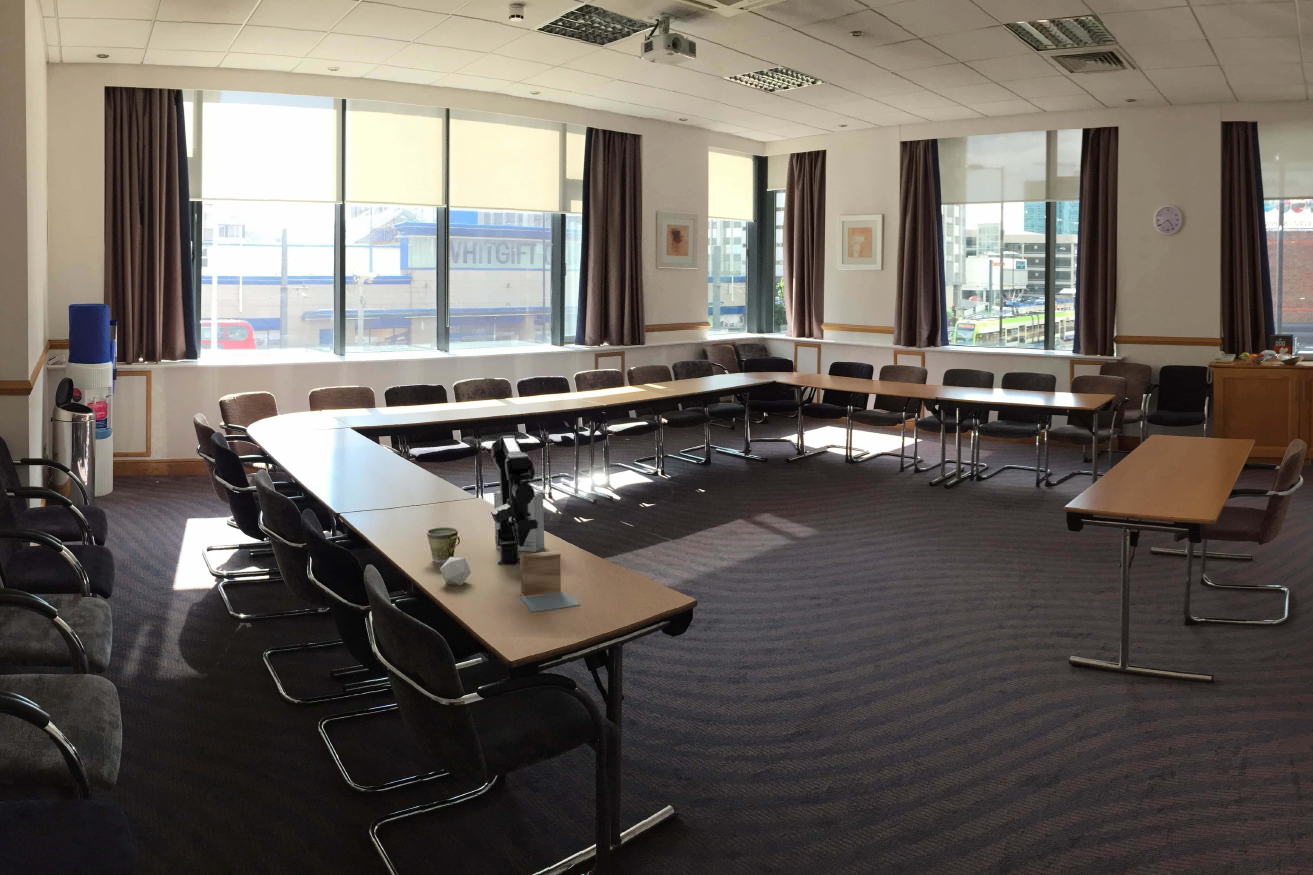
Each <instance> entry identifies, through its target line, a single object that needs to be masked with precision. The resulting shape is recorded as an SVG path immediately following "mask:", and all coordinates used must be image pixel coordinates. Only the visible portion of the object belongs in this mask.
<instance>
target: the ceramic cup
mask: <svg viewBox="0 0 1313 875" xmlns="http://www.w3.org/2000/svg"><path fill="white" fill-rule="evenodd" d="M458 534H459V530H458V529H457V528H455V527H447V526H444V527H443V526H440V527H434V528H430V529H428V530H427V531H426V535H427V540H428V545H429V548H430V552H431V558H432V562H434V563H437V564H444V563H445V562H446V561H447V560H448V559H449V557H455V549H456V547H457V546H459V545H460V543H461V539H460V536H458Z"/></svg>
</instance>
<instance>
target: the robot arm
mask: <svg viewBox="0 0 1313 875" xmlns="http://www.w3.org/2000/svg"><path fill="white" fill-rule="evenodd" d="M490 455H491V456H490V457H491V459H493V464H494V466H495V468H496V469H497V470H498V474H499V475H498V476H499V477H498V478H499V489H500V490H499V491H500V492H501V506H500V507H498V508H495V507H494V508H492V509H491V510H490V513H491V516H492V519H493V521H494V522H495V521H496V523H498V528H497V529H496V534H495V536H494V538H495V541H494V542H495V546H496V545H497V546H501V549H500V559H499V561H497V564H498V565H517V566H518V564H519V563H520V557H519V550H518V545H519V546H520V547H522V546H523V545H524V543H525V540H526V538H527V536H528V534H529V532H530V530H531V529H537V528H538V522H537V521H536V520H535V519H534V518H532V517H529V516H531V513H530V512H529V503H530V501H531V500H532V499H533V498H534V494H535V492H534V491H535V489H534V487H533V486H532V485H531V484H530V480H534V478H535V477H534V476H535V475H536V473H535V468H534V462H533V461H532V459H531V458H530V456H529V455H528V453H526V452H524V451H523V452H522V451H521V449H520V446H519V442H518V441H517V437H516V436H515V435H501V436H499V437H498V440H496V441H494V442H492V444H491V447H490ZM500 540H501V541H500Z"/></svg>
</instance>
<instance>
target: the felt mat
mask: <svg viewBox="0 0 1313 875" xmlns="http://www.w3.org/2000/svg"><path fill="white" fill-rule="evenodd" d="M519 599H520V600H521V601H522V602H523V603H524V605H525V606H526V607H527V608H528V609H529V610H530V611H531V612H532V613H537V612H544V611H550V610H551V611H552V610H558V609H565V608H573V607H578V606H579V607H580V606H581V604H580V603H579V602H578V601H577V600H576V599H575V598H574V597H572V596H571V595H570V594H569V593H568V592H567V591H564V592H563V591H561V593H554V594H547V595H540V596H533V597H526V598H524V597H520V598H519Z"/></svg>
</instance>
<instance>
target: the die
mask: <svg viewBox="0 0 1313 875" xmlns="http://www.w3.org/2000/svg"><path fill="white" fill-rule="evenodd" d="M439 571H440V573H441V576H442V578H443V581H444V582H445V584H446V585H455V586H463V584H464V583H465V581H466V580H467V579H468V578H469V576H470V575H471V574H472V571H471V569H470V566H469V564H468V561H467V560H466V558H465V557H464V558H463V557H455V556H454V557H449V559H448V560H447V561H446V562H445V563H443V564H442V566H441V567H440V568H439Z"/></svg>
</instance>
